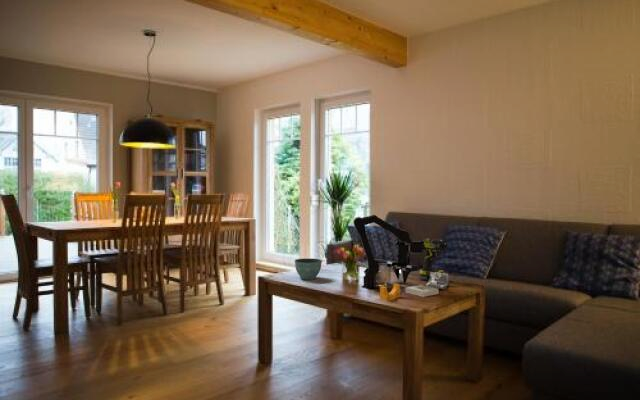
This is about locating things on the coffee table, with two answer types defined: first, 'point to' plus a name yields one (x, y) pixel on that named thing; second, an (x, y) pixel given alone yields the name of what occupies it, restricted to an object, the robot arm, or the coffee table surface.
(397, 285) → the pipe clamp
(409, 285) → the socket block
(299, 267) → the flower pot
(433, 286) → the phone holder
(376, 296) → the coffee table surface
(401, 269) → the steel peg
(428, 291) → the rack block
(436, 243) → the power drill
